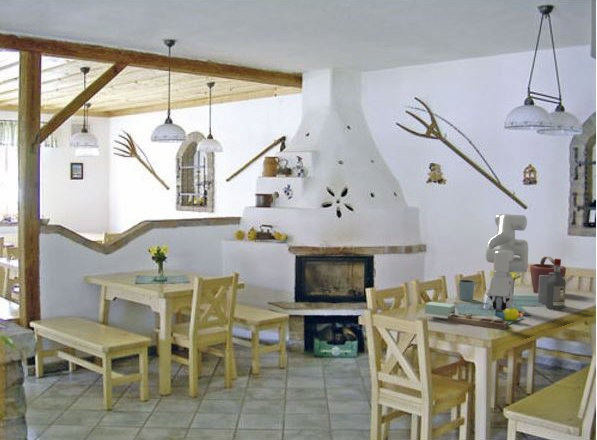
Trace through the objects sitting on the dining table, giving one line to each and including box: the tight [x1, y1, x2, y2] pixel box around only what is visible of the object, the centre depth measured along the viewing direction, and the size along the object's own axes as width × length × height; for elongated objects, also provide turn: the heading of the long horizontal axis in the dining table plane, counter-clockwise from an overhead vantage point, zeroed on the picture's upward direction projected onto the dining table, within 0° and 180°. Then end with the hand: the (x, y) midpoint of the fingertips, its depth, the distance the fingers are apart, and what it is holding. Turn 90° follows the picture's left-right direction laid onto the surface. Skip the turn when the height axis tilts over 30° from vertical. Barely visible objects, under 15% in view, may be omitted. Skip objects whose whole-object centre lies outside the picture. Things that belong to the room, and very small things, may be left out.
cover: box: [424, 301, 456, 317], centre depth 373 cm, size 9×14×5 cm, turn 59°
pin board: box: [447, 313, 510, 330], centre depth 363 cm, size 9×30×4 cm, turn 59°
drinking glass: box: [458, 279, 476, 302], centre depth 433 cm, size 10×10×12 cm
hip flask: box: [537, 273, 566, 305], centre depth 422 cm, size 16×4×20 cm, turn 51°
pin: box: [494, 296, 503, 312], centre depth 356 cm, size 4×4×8 cm
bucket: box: [529, 256, 567, 294], centre depth 464 cm, size 24×22×25 cm
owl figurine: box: [494, 307, 526, 325], centre depth 371 cm, size 28×9×15 cm
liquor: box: [545, 258, 567, 311], centre depth 409 cm, size 9×9×30 cm
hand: (499, 309), depth 356 cm, fingers closed on pin, 4 cm apart
